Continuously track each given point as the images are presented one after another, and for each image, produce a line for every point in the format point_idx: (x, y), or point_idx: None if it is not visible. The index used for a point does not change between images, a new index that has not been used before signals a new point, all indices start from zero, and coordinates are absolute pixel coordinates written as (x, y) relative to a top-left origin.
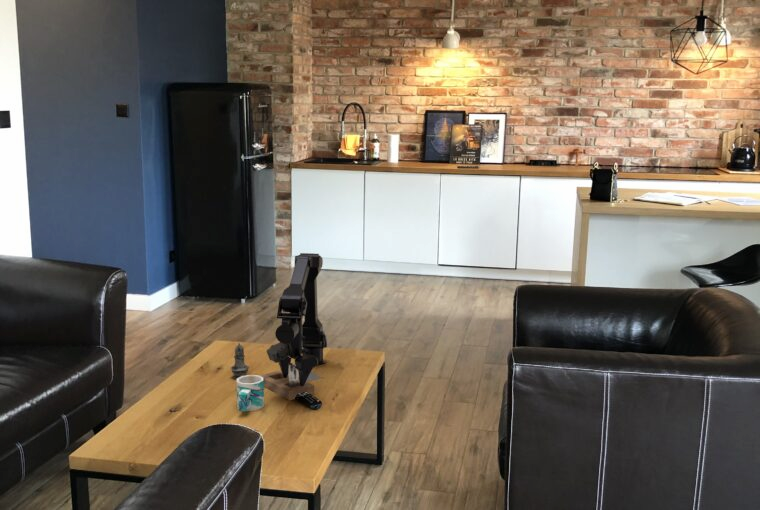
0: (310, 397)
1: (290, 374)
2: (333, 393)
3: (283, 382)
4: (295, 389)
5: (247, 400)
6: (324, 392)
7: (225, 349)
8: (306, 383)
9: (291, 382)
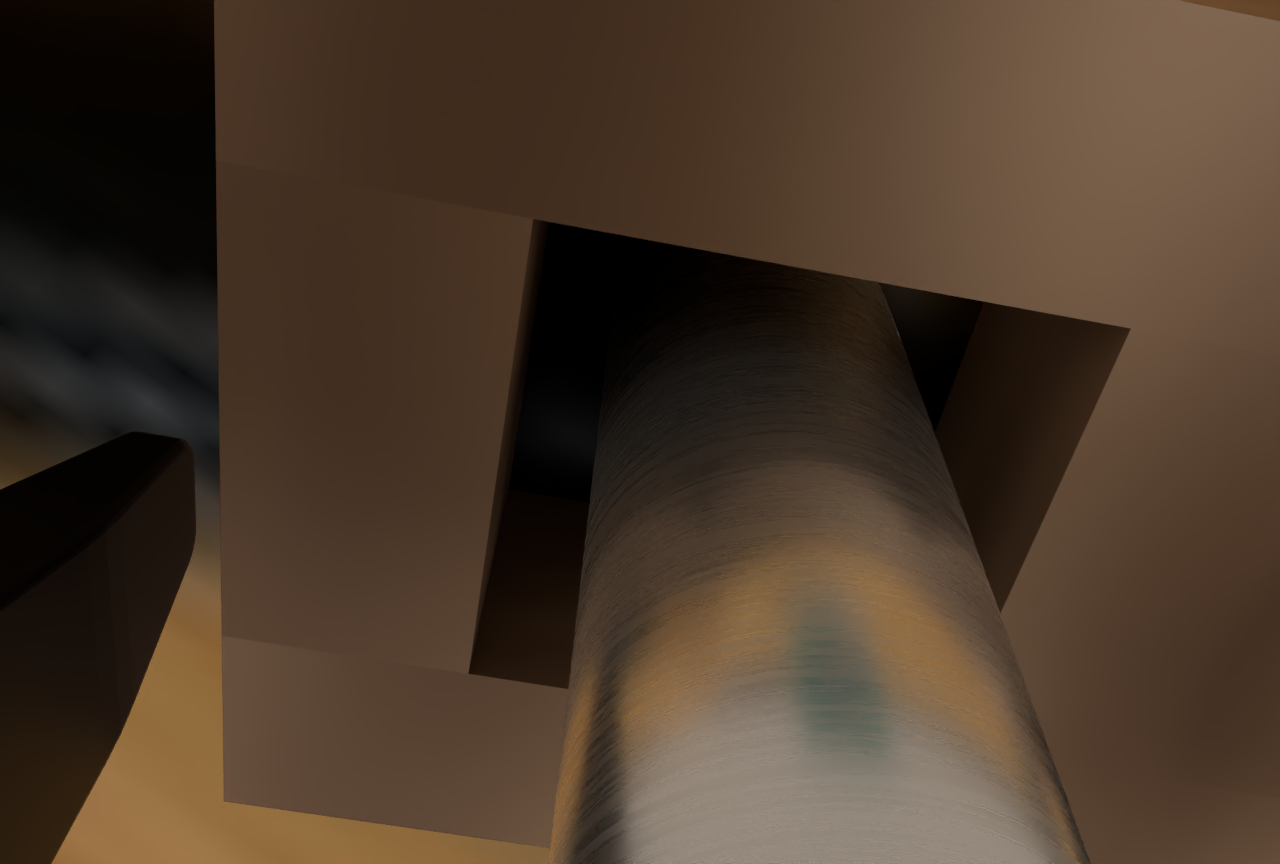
0: (196, 434)
1: (792, 716)
2: (89, 845)
3: (1235, 434)
4: (298, 212)
5: None
6: None
7: None
8: (503, 778)
9: (716, 451)
